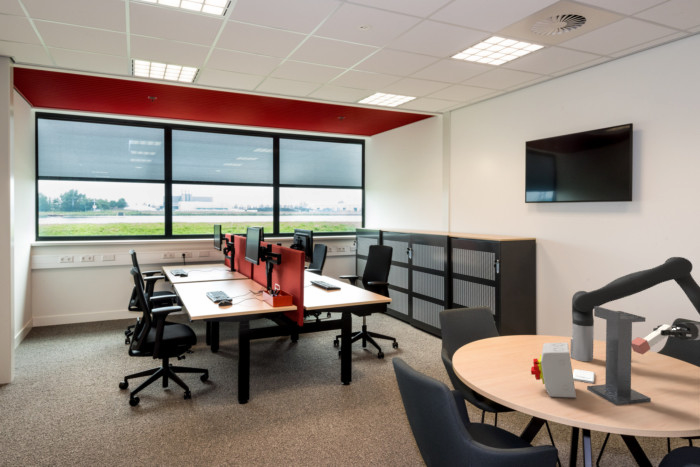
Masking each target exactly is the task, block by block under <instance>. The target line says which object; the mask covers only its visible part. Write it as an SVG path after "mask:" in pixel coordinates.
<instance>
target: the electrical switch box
mask: <svg viewBox="0 0 700 467" xmlns="http://www.w3.org/2000/svg"><path fill="white" fill-rule="evenodd" d="M532 360H533V362H532V363H533V366H531V367H530V375H531V376H535V380H537V381H538V380H539V381H541V380H542V385H544V388H545V390H546V392H547V393H548V395H549V397H551V398H576V397H577V396H576V394H577V393H576V386H575V381H574V379H573V367H572V360H571V357H570V348H569V342H567V341H566V342H544V343H543V345H542V349H541V354H539V359H538V358H533V359H532Z"/></svg>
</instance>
